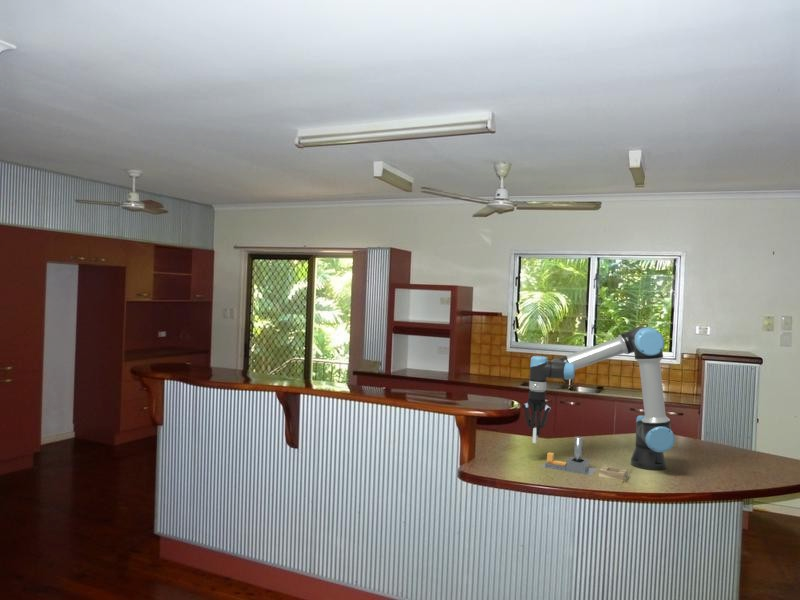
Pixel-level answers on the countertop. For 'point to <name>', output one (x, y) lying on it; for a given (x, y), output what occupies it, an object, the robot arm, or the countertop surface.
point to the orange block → (551, 460)
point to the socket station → (572, 466)
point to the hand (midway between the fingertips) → (535, 442)
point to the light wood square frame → (613, 473)
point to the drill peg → (578, 449)
